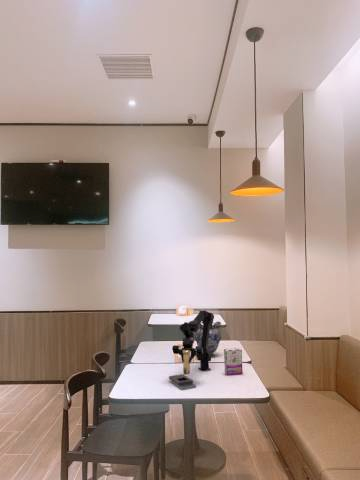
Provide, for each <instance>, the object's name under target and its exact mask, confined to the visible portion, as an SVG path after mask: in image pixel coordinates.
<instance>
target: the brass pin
mask: <svg viewBox="0 0 360 480" xmlns="http://www.w3.org/2000/svg"><path fill="white" fill-rule="evenodd" d="M190 355H191V352H190V350H189V349H184V350H183V363H182V365H183V369H182V370H183V375H185V376H186V375H187V376H188V375H190V374H191V362H190V363H189V359H190Z"/></svg>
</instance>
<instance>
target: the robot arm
mask: <svg viewBox="0 0 360 480" xmlns="http://www.w3.org/2000/svg"><path fill="white" fill-rule="evenodd" d="M214 319H215V315H214V313H212V312H209V311H207V310H199V312H198V314H197V315H196V316H195V317H194V318H193V320H190V321H188V322H187V321H184V323H181V325H180V326H179V331H180V332H181V333H182V336H184V338H182V346H180V345H179V344H177V345H172V347H171V349H172V353H173V355H179V356H180V357H181V362H182V364H183V350H184V349H189V350H190V359H189V363H190V364H191V363H192V360H193V359H194V358H195V356H196V359H197V361H199V363H200V364H199V365H200V367H198V370H200V371H202V372H205V371H211V369H212V368H209V367H210V365H209V363H210V362H211V361H212V358H211V355H210V354H209V349H208V339H209V331H210V325H211V324H212V323H213V322H214ZM202 322H203V323H202ZM200 323H201V324H203V325H202V328H203V332H202V340H201V345H200V346H198V345H196V346H195V348H194V343H195V334H194V333H196V332H197V331H198V329H199V324H200ZM213 324H214V323H213ZM213 324H212V325H213Z"/></svg>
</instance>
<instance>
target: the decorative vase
mask: <svg viewBox="0 0 360 480" xmlns="http://www.w3.org/2000/svg"><path fill="white" fill-rule="evenodd" d="M202 324H203V322H201V323H200V324H199V329H198V331H197V332H195V333H196V334H195V335H194V341H195V342H196V346H200V345H201V340H202V332H203V325H202ZM221 326H222V322H221V321H216V322H214V321H213V323H212V324H211V325H210V331H209V339H208V349H209V354H210V355H211V359H212V358H215V354H214V353H215V352H216V351H217V349H218V347H219V346H220V342H221V339H222V337H221V334H220V329H219V328H220V327H221Z"/></svg>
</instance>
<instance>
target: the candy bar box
mask: <svg viewBox="0 0 360 480" xmlns="http://www.w3.org/2000/svg"><path fill="white" fill-rule="evenodd" d="M223 353H224V354H223V356H224V357H223V360H224V361H223V363H224V374H225V375H226V376H227V377H228V376H239V375H243V350H242V348H240V347H234V348H224V349H223Z"/></svg>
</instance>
